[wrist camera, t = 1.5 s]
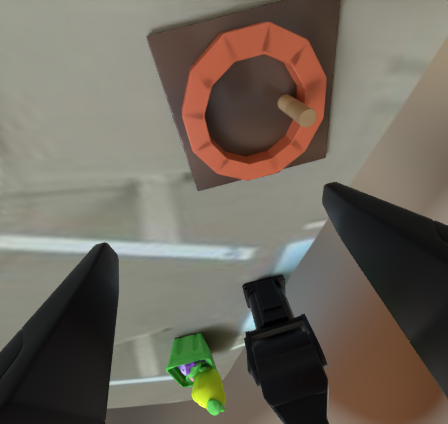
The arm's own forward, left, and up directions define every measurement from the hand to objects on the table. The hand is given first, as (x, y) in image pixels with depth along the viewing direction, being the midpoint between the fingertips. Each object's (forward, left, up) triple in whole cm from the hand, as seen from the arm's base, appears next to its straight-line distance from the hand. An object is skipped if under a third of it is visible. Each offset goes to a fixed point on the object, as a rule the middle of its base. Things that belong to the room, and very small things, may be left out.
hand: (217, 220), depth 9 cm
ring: (0, -5, -12) cm, 13 cm away
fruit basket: (-41, +12, -13) cm, 45 cm away
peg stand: (0, -5, -13) cm, 14 cm away
